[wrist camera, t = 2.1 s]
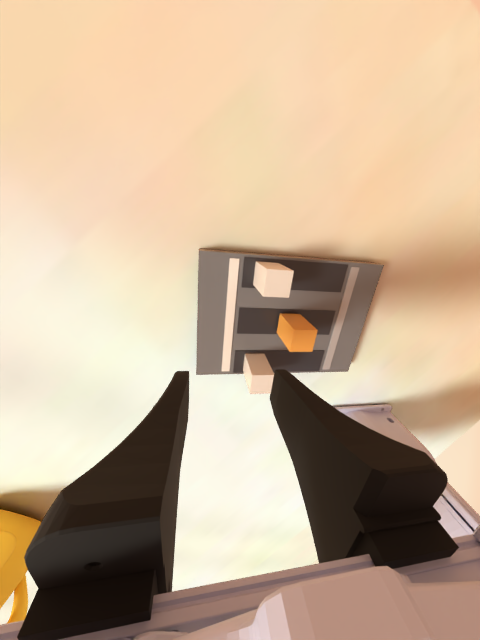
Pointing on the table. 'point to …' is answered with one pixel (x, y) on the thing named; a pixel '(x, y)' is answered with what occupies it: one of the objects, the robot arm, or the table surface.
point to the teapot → (15, 560)
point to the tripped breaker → (296, 332)
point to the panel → (278, 312)
